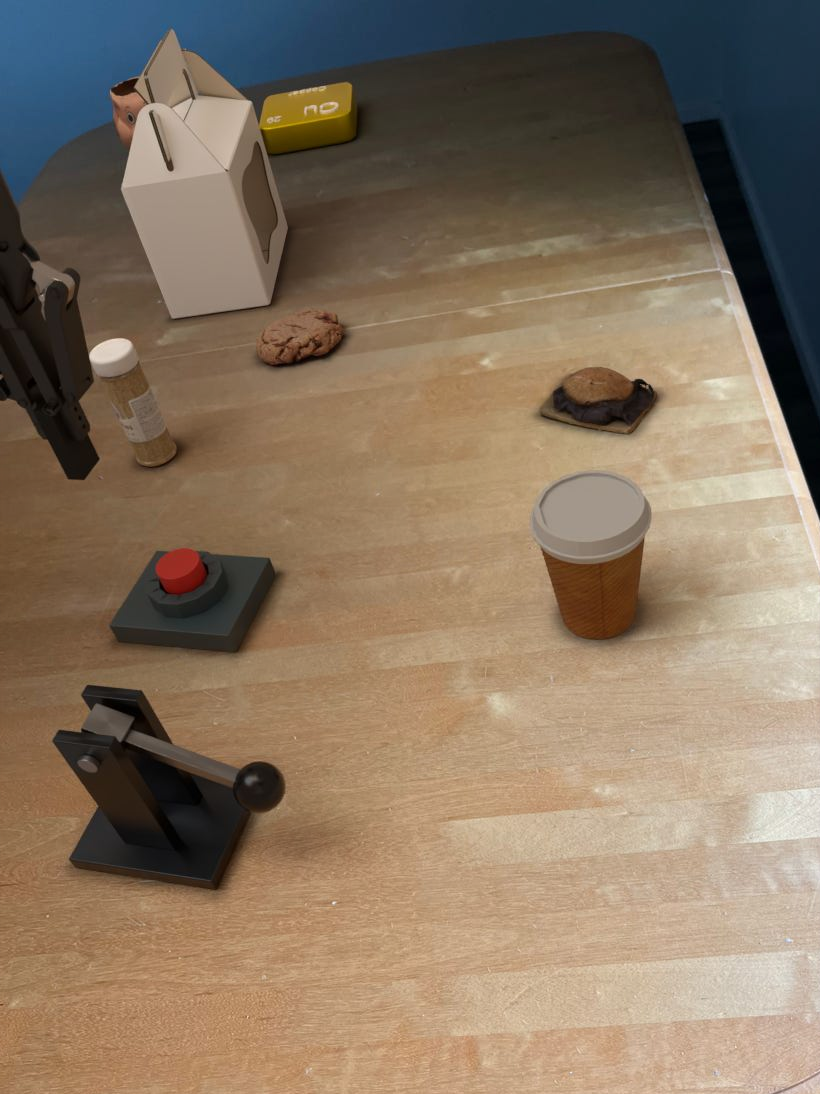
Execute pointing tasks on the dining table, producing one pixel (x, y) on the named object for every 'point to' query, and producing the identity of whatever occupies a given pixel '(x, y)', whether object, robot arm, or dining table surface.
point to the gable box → (202, 188)
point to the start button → (181, 571)
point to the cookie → (299, 336)
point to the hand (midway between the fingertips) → (84, 468)
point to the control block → (196, 605)
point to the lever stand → (148, 804)
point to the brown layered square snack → (600, 400)
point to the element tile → (309, 118)
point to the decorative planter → (126, 109)
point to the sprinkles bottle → (133, 401)
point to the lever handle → (194, 761)
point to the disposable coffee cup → (593, 548)
